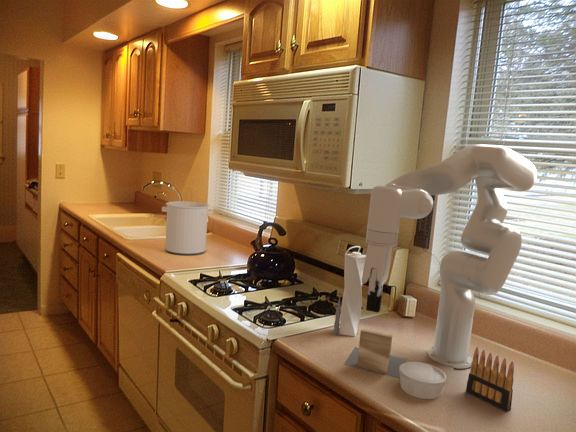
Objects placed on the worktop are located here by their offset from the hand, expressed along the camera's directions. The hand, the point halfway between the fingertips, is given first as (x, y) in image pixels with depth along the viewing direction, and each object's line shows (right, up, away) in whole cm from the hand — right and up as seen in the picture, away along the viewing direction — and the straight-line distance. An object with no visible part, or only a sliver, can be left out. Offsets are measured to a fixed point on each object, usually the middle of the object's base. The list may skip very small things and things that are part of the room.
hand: (373, 310), depth 117 cm
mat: (+3, -17, +14) cm, 22 cm away
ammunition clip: (+27, -22, -2) cm, 35 cm away
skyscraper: (-2, -14, +33) cm, 36 cm away
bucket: (-74, +5, +128) cm, 148 cm away
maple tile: (+2, -17, +9) cm, 20 cm away
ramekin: (+12, -20, 0) cm, 23 cm away
